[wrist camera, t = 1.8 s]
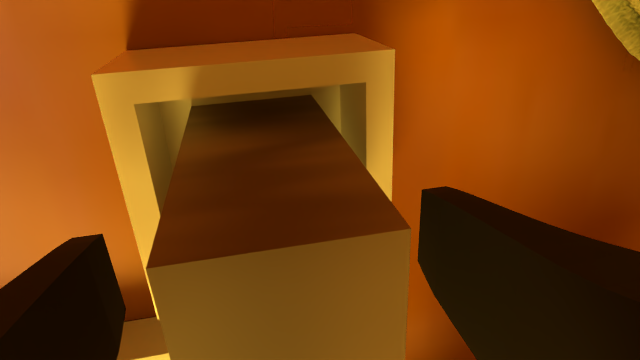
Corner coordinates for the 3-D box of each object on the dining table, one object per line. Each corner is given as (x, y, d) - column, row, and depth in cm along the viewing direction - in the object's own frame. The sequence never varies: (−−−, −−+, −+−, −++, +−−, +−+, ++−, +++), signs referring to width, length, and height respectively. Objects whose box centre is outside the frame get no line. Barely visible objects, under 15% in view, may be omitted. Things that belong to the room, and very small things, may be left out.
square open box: (355, 33, 15) (395, 49, 11) (357, 221, 18) (389, 280, 15) (125, 50, 14) (91, 75, 10) (171, 248, 17) (157, 319, 14)
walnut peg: (311, 94, 15) (411, 228, 7) (317, 198, 17) (402, 402, 9) (191, 106, 14) (145, 268, 6) (210, 212, 16) (194, 447, 8)
